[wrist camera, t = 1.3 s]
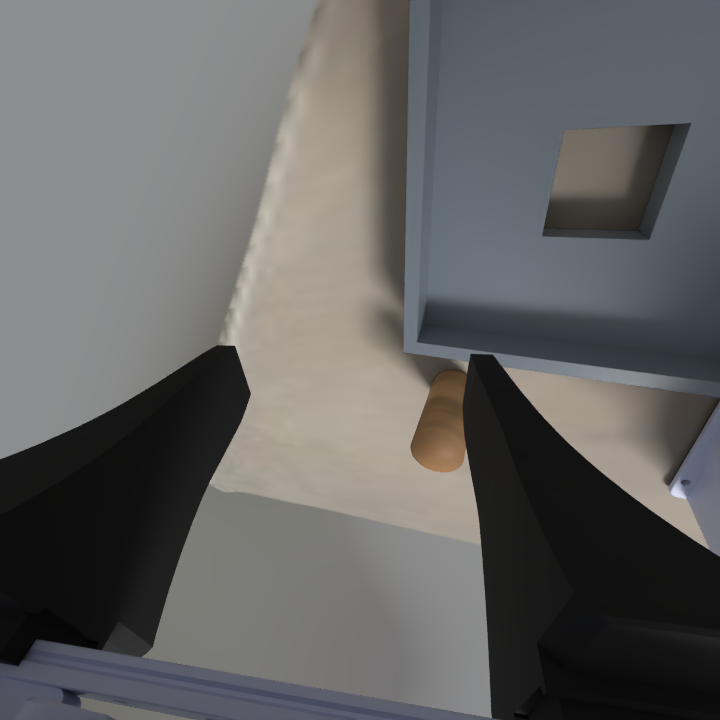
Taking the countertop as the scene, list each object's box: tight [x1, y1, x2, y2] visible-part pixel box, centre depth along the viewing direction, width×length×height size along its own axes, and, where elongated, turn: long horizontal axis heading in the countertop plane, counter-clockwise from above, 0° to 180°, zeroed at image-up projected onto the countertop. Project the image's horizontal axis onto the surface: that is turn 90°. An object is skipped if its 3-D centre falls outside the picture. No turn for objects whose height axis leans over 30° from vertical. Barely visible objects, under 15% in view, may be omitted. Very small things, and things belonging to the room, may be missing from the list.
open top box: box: [403, 0, 720, 398], centre depth 16 cm, size 18×18×4 cm
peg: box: [411, 370, 467, 472], centre depth 25 cm, size 3×3×7 cm
